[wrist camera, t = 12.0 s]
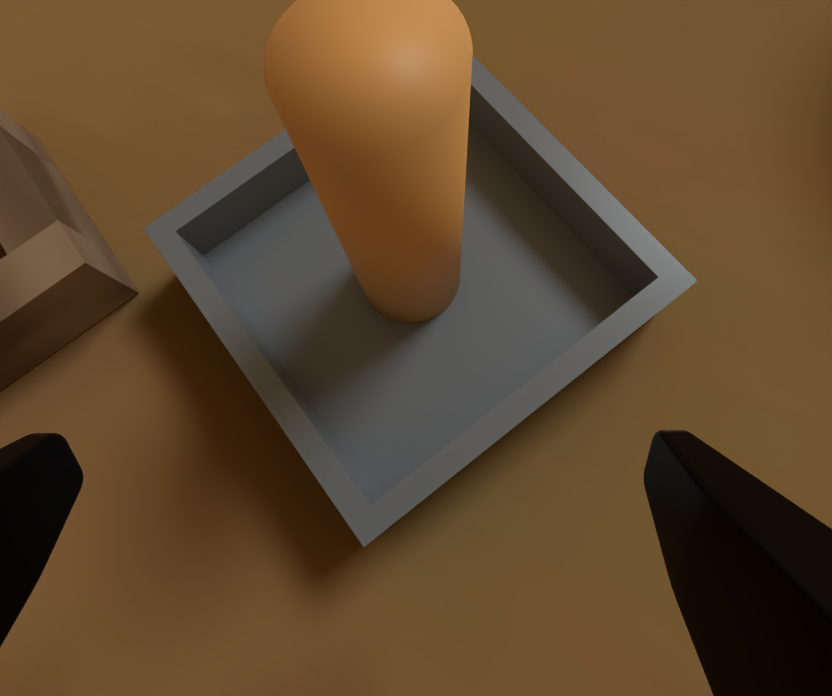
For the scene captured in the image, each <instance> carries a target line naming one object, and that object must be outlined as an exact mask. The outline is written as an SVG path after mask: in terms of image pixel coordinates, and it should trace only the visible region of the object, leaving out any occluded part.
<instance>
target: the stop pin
mask: <svg viewBox="0 0 832 696" xmlns="http://www.w3.org/2000/svg"><path fill="white" fill-rule="evenodd" d="M472 55H473V48H472V39H471V35H470V31H469V28H468V25H467V23H466V21H465V19H464V17H463V15H462V13H461V12H460V10H459V9H458V7H457V6H456V5H455V4H454V3H453V2H452V0H296V1H295V2H294V3H293V4H292V5H291V6H290V7H289V8H288V9H287V10H286V11H285V12H284V14H283V15H282V16H281V17H280V19H279V20H278V22H277V24H276V25H275V27H274V29H273V31H272V33H271V35H270V37H269V40H268V43H267V46H266V50H265V56H264V76H265V83H266V86H267V89H268V93H269V95H270V97H271V99H272V101H273V104H274V106H275V108H276V110H277V112H278V114H279V116H280V118H281V120H282V122H283V124H284V127H285V129H286V131H287V133H288V135H289V137H290V139H291V141H292V143H293V145H294V147H295V149H296V152H297V154H298V156H299V158H300V160H301V162H302V164H303V166H304V168H305V170H306V172H307V175H308V177H309V179H310V181H311V183H312V185H313V187H314V189H315V191H316V193H317V195H318V198H319V200H320V202H321V204H322V206H323V208H324V210H325V212H326V214H327V216H328V218H329V221H330V223H331V225H332V227H333V229H334V231H335V233H336V235H337V237H338V239H339V241H340V244H341V246H342V248H343V250H344V252H345V254H346V256H347V258H348V260H349V262H350V264H351V267H352V269H353V271H354V273H355V275H356V277H357V279H358V281H359V283H360V285H361V287H362V290H363V292H364V294H365V296H366V298H367V300H368V302H369V303H370V304H371V306H372V307H373V308H374V309H375V310H376V311H377V312H378V313H379V314H381V315H382V316H384V317H385V318H387V319H389V320H392V321H395V322H398V323H404V324H414V323H421V322H425V321H428V320H430V319H432V318H434V317H436V316H438V315H439V314H441V313H442V312H443V311H444V310H445V309H446V308H447V307H448V306H449V305H450V304H451V302H452V301H453V299H454V298H455V296H456V294H457V291H458V288H459V283H460V267H461V249H462V232H463V214H464V197H465V179H466V161H467V144H468V126H469V108H470V91H471V73H472Z"/></svg>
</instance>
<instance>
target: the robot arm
mask: <svg viewBox="0 0 832 696" xmlns="http://www.w3.org/2000/svg"><path fill="white" fill-rule="evenodd" d="M82 483H83V472H82V469H81V467H80V465H79V463H78V462H77V460H76V458H75V456H74V454H73V452H72V450H71V448H70V446H69V445H68V443H67V441H66V439H65V438H64V437H63V436H61V435H60V434H56V433H35V434H30V435H27V436H25V437H23V438H21V439H19V440H17V441H15V442H13V443H11V444H9V445H7V446H5V447H3V448H1V449H0V647H1V645H2V643H3V642H4V640H5V638H6V636H7V635H8V633H9V631H10V629H11V628H12V626H13V624H14V622H15V621H16V619H17V617H18V615H19V614H20V612H21V610H22V608H23V607H24V605H25V603H26V601H27V600H28V598H29V596H30V594H31V593H32V591H33V589H34V587H35V585H36V583H37V582H38V580H39V578H40V576H41V574H42V572H43V570H44V568H45V566H46V563H47V561H48V559H49V557H50V555H51V553H52V550H53V548H54V546H55V544H56V542H57V539H58V537H59V535H60V533H61V531H62V529H63V526H64V524H65V522H66V520H67V518H68V515H69V513H70V511H71V509H72V507H73V505H74V502H75V500H76V498H77V496H78V494H79V491H80V489H81V487H82ZM644 486H645V490H646V494H647V498H648V501H649V505H650V509H651V513H652V516H653V520H654V524H655V528H656V531H657V535H658V539H659V543H660V546H661V550H662V554H663V558H664V561H665V565H666V569H667V572H668V576H669V579H670V583H671V586H672V589H673V592H674V594H675V597H676V600H677V603H678V606H679V608H680V611H681V613H682V616H683V618H684V621H685V624H686V626H687V629H688V631H689V634H690V636H691V639H692V642H693V644H694V647H695V649H696V652H697V654H698V657H699V660H700V662H701V665H702V667H703V670H704V672H705V675H706V678H707V680H708V683H709V685H710V688H711V690H712V693H713V696H832V529H831V528H829V527H828V526H826V525H825V524H823V523H822V522H820V521H819V520H818V519H816V518H815V517H813V516H812V515H810V514H809V513H807V512H806V511H804V510H803V509H801V508H800V507H798V506H797V505H796V504H794V503H793V502H791V501H790V500H788V499H787V498H785V497H784V496H782V495H781V494H779V493H778V492H776V491H775V490H774V489H772V488H771V487H769V486H768V485H766V484H765V483H763V482H762V481H760V480H759V479H757V478H756V477H754V476H753V475H752V474H750V473H749V472H747V471H746V470H744V469H743V468H741V467H740V466H738V465H737V464H735V463H734V462H732V461H731V460H730V459H728V458H727V457H725V456H724V455H722V454H721V453H719V452H718V451H716V450H715V449H713V448H712V447H710V446H709V445H708V444H706V443H705V442H703V441H702V440H700V439H699V438H697V437H696V436H694V435H693V434H691V433H690V432H687V431H683V430H661V431H658V432H657V433H655V435H654V437H653V439H652V443H651V447H650V451H649V455H648V458H647V462H646V466H645V470H644Z"/></svg>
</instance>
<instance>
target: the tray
mask: <svg viewBox="0 0 832 696" xmlns="http://www.w3.org/2000/svg"><path fill="white" fill-rule="evenodd" d="M144 230H145V231H146V232H147V234H148V235H149V237H150V238H151V240H152V241H153V243H154V244H155V245H156V247H157V248H158V250H159V251H160V253H161V254H162V256H163V257H164V259H165V260H166V261H167V263H168V264H169V266H170V267H171V269H172V270H173V272H174V273H175V274H176V276H177V277H178V279H179V280H180V282H181V283H182V285H183V286H184V288H185V289H186V290H187V292H188V293H189V295H190V296H191V298H192V299H193V301H194V302H195V303H196V305H197V306H198V308H199V309H200V311H201V312H202V314H203V315H204V317H205V318H206V319H207V321H208V322H209V324H210V325H211V327H212V328H213V330H214V331H215V332H216V334H217V335H218V337H219V338H220V340H221V341H222V343H223V344H224V345H225V347H226V348H227V350H228V351H229V353H230V354H231V356H232V357H233V359H234V360H235V361H236V363H237V364H238V366H239V367H240V369H241V370H242V372H243V373H244V374H245V376H246V377H247V379H248V380H249V382H250V383H251V385H252V386H253V388H254V389H255V390H256V392H257V393H258V395H259V396H260V398H261V399H262V401H263V402H264V403H265V405H266V406H267V408H268V409H269V411H270V412H271V414H272V415H273V417H274V418H275V419H276V421H277V422H278V424H279V425H280V427H281V428H282V430H283V431H284V432H285V434H286V435H287V437H288V438H289V440H290V441H291V443H292V444H293V445H294V447H295V448H296V450H297V451H298V453H299V454H300V456H301V457H302V459H303V460H304V461H305V463H306V464H307V466H308V467H309V469H310V470H311V472H312V473H313V474H314V476H315V477H316V479H317V480H318V482H319V483H320V485H321V486H322V488H323V489H324V490H325V492H326V493H327V495H328V496H329V498H330V499H331V501H332V502H333V503H334V505H335V506H336V508H337V509H338V511H339V512H340V514H341V515H342V517H343V518H344V519H345V521H346V522H347V524H348V525H349V527H350V528H351V530H352V531H353V532H354V534H355V535H356V537H357V538H358V540H359V541H360V543H361V544H362V546H363V547H365V546H366V545H367V544H369V543H370V542H371V541H372V540H374V539H375V538H376V537H377V536H379V535H380V534H381V533H382V532H384V531H385V530H386V529H387V528H389V527H390V526H391V525H392V524H394V523H395V522H396V521H397V520H399V519H400V518H401V517H402V516H404V515H405V514H406V513H407V512H409V511H410V510H411V509H413V508H414V507H415V506H416V505H418V504H419V503H420V502H421V501H423V500H424V499H425V498H426V497H428V496H429V495H430V494H431V493H433V492H434V491H435V490H436V489H438V488H439V487H440V486H441V485H443V484H444V483H445V482H446V481H448V480H449V479H450V478H451V477H453V476H454V475H455V474H456V473H458V472H459V471H460V470H461V469H463V468H464V467H465V466H466V465H468V464H469V463H470V462H471V461H473V460H474V459H475V458H476V457H478V456H479V455H480V454H481V453H483V452H484V451H485V450H486V449H488V448H489V447H490V446H491V445H493V444H494V443H495V442H496V441H498V440H499V439H500V438H501V437H503V436H504V435H505V434H506V433H508V432H509V431H510V430H511V429H513V428H514V427H515V426H516V425H518V424H519V423H520V422H521V421H523V420H524V419H525V418H526V417H528V416H529V415H530V414H531V413H533V412H534V411H535V410H536V409H538V408H539V407H540V406H541V405H543V404H544V403H545V402H546V401H548V400H549V399H550V398H551V397H553V396H554V395H555V394H556V393H558V392H559V391H560V390H561V389H563V388H564V387H565V386H566V385H568V384H569V383H570V382H571V381H573V380H574V379H575V378H576V377H578V376H579V375H580V374H581V373H583V372H584V371H585V370H586V369H588V368H589V367H590V366H591V365H593V364H594V363H595V362H596V361H598V360H599V359H600V358H601V357H603V356H604V355H605V354H606V353H608V352H609V351H610V350H611V349H613V348H614V347H615V346H616V345H618V344H619V343H620V342H621V341H623V340H624V339H625V338H626V337H628V336H629V335H630V334H631V333H633V332H634V331H635V330H636V329H638V328H639V327H640V326H641V325H643V324H644V323H645V322H646V321H648V320H649V319H650V318H651V317H653V316H654V315H655V314H656V313H658V312H659V311H660V310H661V309H663V308H664V307H665V306H666V305H668V304H669V303H670V302H671V301H673V300H674V299H675V298H676V297H678V296H679V295H680V294H681V293H683V292H684V291H685V290H686V289H688V288H689V287H690V286H691V285H693V284H694V283H695V282H696V281H697V280H696V279H695V278H694V277H693V276H692V275H691V274H690V273H689V272H688V271H687V270H686V269H685V268H684V267H683V266H682V265H681V264H680V263H679V262H678V261H677V260H676V259H675V258H674V257H673V256H672V255H671V254H670V253H669V252H668V251H667V250H666V249H665V248H664V247H663V246H662V245H661V244H660V243H659V242H658V241H657V240H656V239H655V238H654V237H653V236H652V235H651V234H650V233H649V232H648V231H647V230H646V229H645V228H644V227H643V226H642V225H641V224H640V223H639V222H638V221H637V220H636V219H635V218H634V217H633V216H632V215H631V214H630V213H629V212H628V211H627V210H626V209H625V208H624V207H623V206H622V205H621V204H620V203H619V202H618V201H617V200H616V199H615V198H614V197H613V196H612V195H611V194H610V193H609V192H608V191H607V190H606V188H605V187H604V186H603V185H602V184H601V183H600V182H599V181H598V180H597V179H596V178H595V177H594V176H593V175H592V174H591V173H590V172H589V171H588V170H587V169H586V168H585V167H584V166H583V165H582V164H581V163H580V162H579V161H578V160H577V159H576V158H575V157H574V156H573V155H572V154H571V153H570V152H569V151H568V150H567V149H566V148H565V147H564V146H563V145H562V144H561V143H560V142H559V141H558V140H557V139H556V138H555V137H554V136H553V135H552V134H551V133H550V132H549V131H548V130H547V129H546V128H545V127H544V126H543V125H542V124H541V123H540V122H539V121H538V120H537V119H536V118H535V117H534V116H533V115H532V114H531V113H530V112H529V111H528V110H527V109H526V108H525V107H524V106H523V105H522V104H521V103H520V102H519V101H518V100H517V99H516V98H515V97H514V96H513V95H512V94H511V93H510V92H509V91H508V90H507V89H506V88H505V87H504V86H503V85H502V84H501V83H500V82H499V81H498V80H497V79H496V78H495V77H494V76H493V75H492V74H491V73H490V72H489V71H488V70H487V69H486V68H485V67H484V66H483V65H482V64H481V63H480V62H479V61H478V60H477V59H476V58H475V57H474V56H473V55H472V73H471V91H470V108H469V126H468V144H467V161H466V179H465V197H464V214H463V232H462V249H461V267H460V283H459V288H458V291H457V294H456V296H455V298H454V299H453V301H452V302H451V304H450V305H449V306H448V307H447V308H446V309H445V310H444V311H443V312H442V313H441V314H439V315H438V316H436V317H434V318H432V319H430V320H428V321H425V322H421V323H414V324H404V323H398V322H395V321H392V320H389V319H387V318H385V317H384V316H382V315H381V314H379V313H378V312H377V311H376V310H375V309H374V308H373V307H372V306H371V304H370V303H369V302H368V300H367V298H366V296H365V294H364V292H363V290H362V287H361V285H360V283H359V281H358V279H357V277H356V275H355V273H354V271H353V269H352V267H351V264H350V262H349V260H348V258H347V256H346V254H345V252H344V250H343V248H342V246H341V244H340V241H339V239H338V237H337V235H336V233H335V231H334V229H333V227H332V225H331V223H330V221H329V218H328V216H327V214H326V212H325V210H324V208H323V206H322V204H321V202H320V200H319V198H318V195H317V193H316V191H315V189H314V187H313V185H312V183H311V181H310V179H309V177H308V175H307V172H306V170H305V168H304V166H303V164H302V162H301V160H300V158H299V156H298V154H297V152H296V149H295V147H294V145H293V143H292V141H291V139H290V137H289V135H288V133H287V131H286V129H285V130H284V131H282V132H281V133H279V134H278V135H276V136H275V137H274V138H272V139H271V140H269V141H268V142H266V143H265V144H264V145H262V146H261V147H259V148H258V149H256V150H255V151H253V152H252V153H251V154H249V155H248V156H246V157H245V158H243V159H242V160H241V161H239V162H238V163H236V164H235V165H233V166H232V167H231V168H229V169H228V170H226V171H225V172H223V173H222V174H221V175H219V176H218V177H216V178H215V179H213V180H212V181H211V182H209V183H208V184H206V185H205V186H203V187H202V188H200V189H199V190H198V191H196V192H195V193H193V194H192V195H190V196H189V197H188V198H186V199H185V200H183V201H182V202H180V203H179V204H178V205H176V206H175V207H173V208H172V209H170V210H169V211H168V212H166V213H165V214H163V215H162V216H160V217H159V218H158V219H156V220H155V221H153V222H152V223H150V224H149V225H147V226H146V227H145V228H144Z"/></svg>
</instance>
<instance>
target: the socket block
mask: <svg viewBox="0 0 832 696" xmlns="http://www.w3.org/2000/svg"><path fill="white" fill-rule="evenodd" d="M0 243H1V245H2V247H3V248H4V250H5V252H6V253H7V255H6V256H5V257H3V258H2V259H0V391H1V390H3V389H4V388H5V387H7V386H8V385H10V384H11V383H12V382H14V381H15V380H17V379H18V378H20V377H21V376H22V375H24V374H25V373H27V372H28V371H29V370H31V369H32V368H34V367H35V366H36V365H38V364H39V363H41V362H42V361H43V360H45V359H46V358H48V357H49V356H50V355H52V354H53V353H55V352H56V351H58V350H59V349H60V348H62V347H63V346H65V345H66V344H67V343H69V342H70V341H72V340H73V339H74V338H76V337H77V336H79V335H80V334H81V333H83V332H84V331H86V330H87V329H88V328H90V327H91V326H93V325H94V324H96V323H97V322H98V321H100V320H101V319H103V318H104V317H105V316H107V315H108V314H110V313H111V312H112V311H114V310H115V309H117V308H118V307H119V306H121V305H122V304H124V303H125V302H126V301H128V300H129V299H131V298H132V297H134V296H135V295H136V294H138V293H139V292H138V291H137V289H136V288H135V286H134V285H133V283H132V282H131V280H130V279H129V277H128V276H127V274H126V273H125V271H124V270H123V268H122V267H121V265H120V264H119V262H118V260H117V259H116V257H115V256H114V254H113V253H112V251H111V250H110V248H109V247H108V245H107V244H106V242H105V241H104V239H103V238H102V236H101V235H100V233H99V232H98V230H97V229H96V227H95V226H94V224H93V223H92V221H91V220H90V218H89V217H88V215H87V214H86V212H85V211H84V209H83V208H82V206H81V205H80V203H79V202H78V200H77V198H76V197H75V195H74V194H73V192H72V191H71V189H70V188H69V186H68V185H67V183H66V182H65V180H64V179H63V177H62V176H61V174H60V173H59V171H58V170H57V168H56V167H55V165H54V164H53V162H52V161H51V159H50V158H49V156H48V155H47V153H46V152H45V150H44V149H43V147H42V146H41V144H40V143H39V141H38V139H37V138H36V137H35V136H34V135H32V134H31V133H30V132H29V131H27V130H26V129H25V128H24V127H22V126H21V125H20V124H19V123H17V122H16V121H15V120H14V119H12V118H11V117H10V116H9V115H7V114H6V113H5V112H4V111H2V110H1V109H0Z"/></svg>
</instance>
